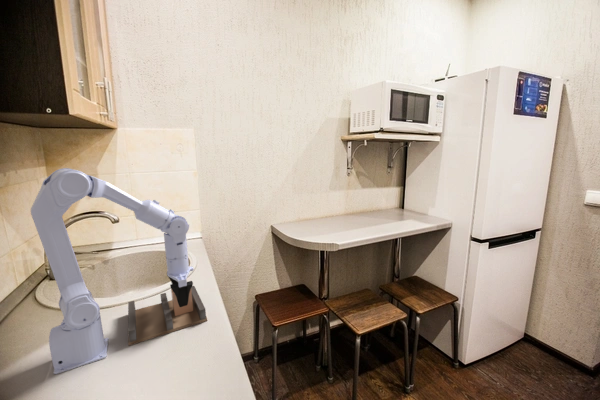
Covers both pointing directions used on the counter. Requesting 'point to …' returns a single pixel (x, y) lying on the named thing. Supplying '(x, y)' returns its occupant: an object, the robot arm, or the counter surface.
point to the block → (183, 309)
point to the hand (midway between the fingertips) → (181, 299)
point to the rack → (162, 318)
